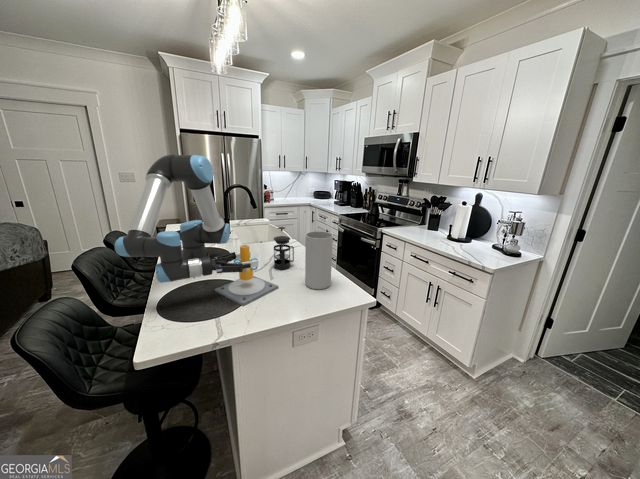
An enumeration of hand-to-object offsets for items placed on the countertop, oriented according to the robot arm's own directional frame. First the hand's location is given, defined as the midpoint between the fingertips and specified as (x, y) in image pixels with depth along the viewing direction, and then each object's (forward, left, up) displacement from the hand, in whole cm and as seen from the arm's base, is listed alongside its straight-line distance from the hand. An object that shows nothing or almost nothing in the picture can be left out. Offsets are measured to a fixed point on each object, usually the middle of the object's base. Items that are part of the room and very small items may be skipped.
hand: (253, 258), depth 115 cm
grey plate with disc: (-2, -3, -15) cm, 15 cm away
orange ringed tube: (-2, -3, -9) cm, 9 cm away
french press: (-8, +27, -15) cm, 31 cm away
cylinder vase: (+20, +22, -15) cm, 33 cm away
